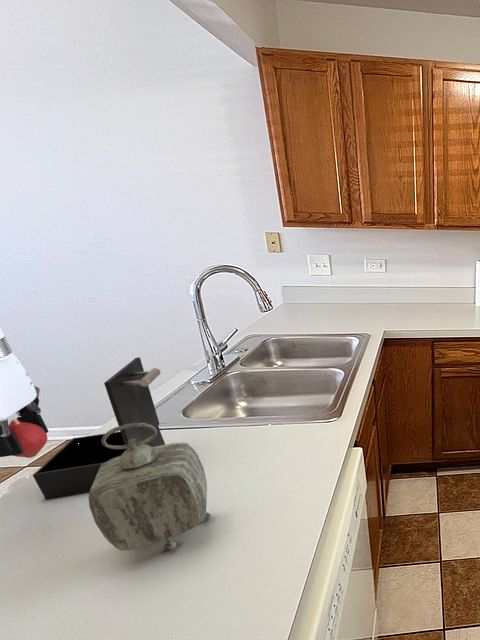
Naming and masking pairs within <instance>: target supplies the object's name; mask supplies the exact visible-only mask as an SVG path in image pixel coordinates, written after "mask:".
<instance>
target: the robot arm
mask: <svg viewBox="0 0 480 640" xmlns="http://www.w3.org/2000/svg"><path fill="white" fill-rule="evenodd" d="M40 392H41V389H40V387H38V386H36V385H35V384H34V382H33V381H32V379H31V377H30V376H29V374H28V372H27V371H26V368H25V367H24V366H23V365H22V363H21V362H20V359H18V358H17V356H16V355H15V353H14V352H13V350H12V348H11V346H10V343H9V342H8V339H7V337H6V336H5V334H4V332H3V330H2V328H1V327H0V458H6V457H13V456H12V455H19V454H21V453H23V452H24V451H23V448H22V447H21V445H20V443H19V441H18V439H17V437H16V435H15V434H14V433H12V434H10V431H9V418H10V417H11V416H13V415H15V414H16V415H17V416H18V417H16V418H15V419H17V420H18V421H20V422H28V423H32V424H35V425H38V426H40V427H41V428H42V429H43V430H44V431H45V433H46V434H48V433H49V430H48V427H47V425H46V423H45V421H44V419H43V417H42V415H41V412H42V409H41V407H39V404H40V398H39V397H40Z"/></svg>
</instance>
